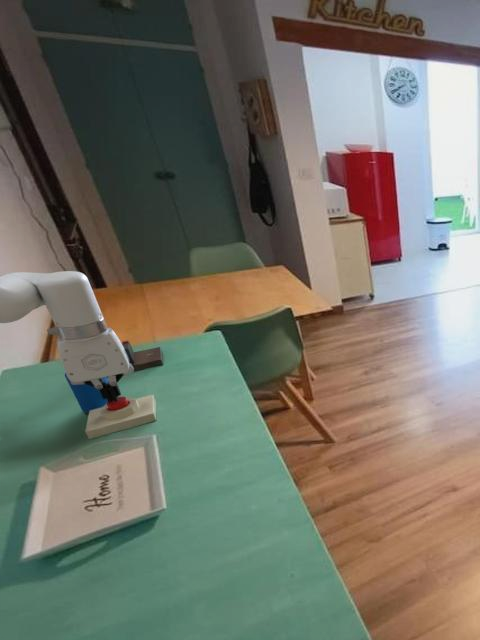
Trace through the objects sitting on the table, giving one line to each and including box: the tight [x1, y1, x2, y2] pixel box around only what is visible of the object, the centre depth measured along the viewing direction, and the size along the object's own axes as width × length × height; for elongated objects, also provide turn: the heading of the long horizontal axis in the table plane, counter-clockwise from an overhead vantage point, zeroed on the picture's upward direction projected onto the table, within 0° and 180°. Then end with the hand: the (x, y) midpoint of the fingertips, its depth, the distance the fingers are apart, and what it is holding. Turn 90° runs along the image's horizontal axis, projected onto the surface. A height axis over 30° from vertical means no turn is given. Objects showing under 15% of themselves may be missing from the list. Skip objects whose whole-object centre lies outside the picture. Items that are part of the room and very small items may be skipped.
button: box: [106, 396, 129, 411], centre depth 99 cm, size 4×4×2 cm
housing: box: [84, 394, 157, 440], centre depth 100 cm, size 12×10×4 cm
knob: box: [121, 340, 135, 363], centre depth 122 cm, size 6×2×5 cm, turn 37°
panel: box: [130, 346, 164, 372], centre depth 124 cm, size 14×10×2 cm
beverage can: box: [64, 372, 109, 414], centre depth 102 cm, size 6×6×12 cm
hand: (113, 399), depth 98 cm, fingers closed
